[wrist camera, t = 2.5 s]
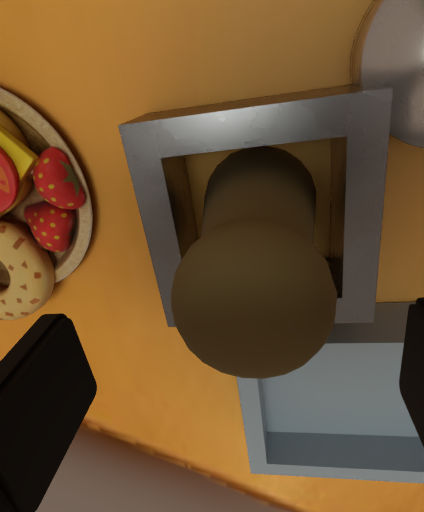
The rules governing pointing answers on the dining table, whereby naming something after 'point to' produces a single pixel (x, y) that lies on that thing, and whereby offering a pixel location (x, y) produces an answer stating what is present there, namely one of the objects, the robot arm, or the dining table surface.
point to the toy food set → (37, 209)
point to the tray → (338, 409)
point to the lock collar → (297, 130)
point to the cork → (255, 270)
